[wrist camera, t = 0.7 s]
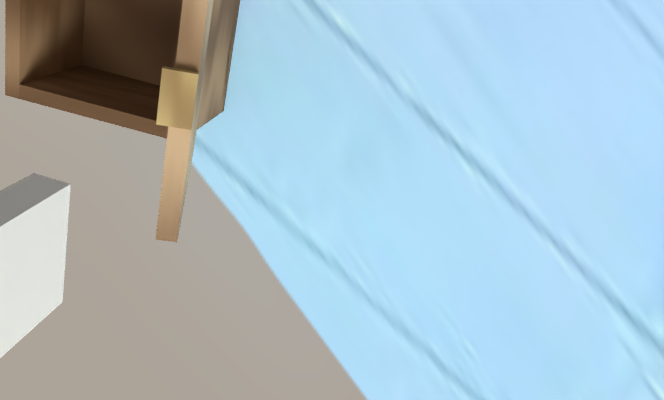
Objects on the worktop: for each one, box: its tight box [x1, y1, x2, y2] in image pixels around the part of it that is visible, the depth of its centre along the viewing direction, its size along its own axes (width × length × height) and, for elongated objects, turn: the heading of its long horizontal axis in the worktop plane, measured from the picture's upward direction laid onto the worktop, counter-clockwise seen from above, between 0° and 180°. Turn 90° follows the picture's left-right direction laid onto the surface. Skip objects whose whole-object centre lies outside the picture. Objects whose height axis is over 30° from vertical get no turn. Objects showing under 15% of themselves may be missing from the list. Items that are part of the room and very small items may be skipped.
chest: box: [5, 0, 240, 138], centre depth 34 cm, size 11×10×7 cm
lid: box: [156, 0, 214, 242], centre depth 26 cm, size 11×10×1 cm
